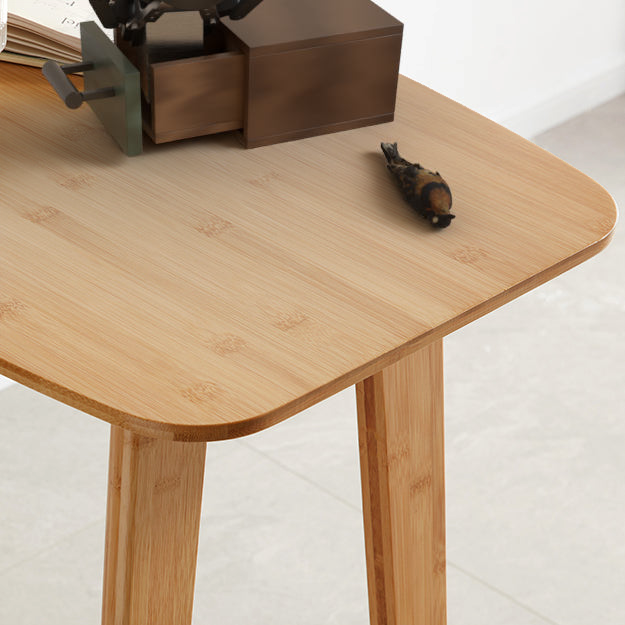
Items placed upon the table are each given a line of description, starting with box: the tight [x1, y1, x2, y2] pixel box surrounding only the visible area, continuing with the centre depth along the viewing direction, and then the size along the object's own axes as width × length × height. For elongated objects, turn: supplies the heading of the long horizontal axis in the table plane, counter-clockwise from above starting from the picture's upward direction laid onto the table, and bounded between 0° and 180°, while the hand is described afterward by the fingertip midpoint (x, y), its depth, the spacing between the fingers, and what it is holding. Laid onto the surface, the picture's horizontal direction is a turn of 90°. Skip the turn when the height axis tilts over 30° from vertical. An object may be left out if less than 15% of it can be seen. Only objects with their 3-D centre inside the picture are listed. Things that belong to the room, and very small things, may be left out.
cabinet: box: [215, 0, 405, 150], centre depth 94 cm, size 14×12×9 cm
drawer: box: [41, 20, 246, 158], centre depth 89 cm, size 16×10×7 cm, turn 117°
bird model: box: [379, 141, 456, 229], centre depth 85 cm, size 3×14×3 cm, turn 14°
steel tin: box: [137, 7, 203, 104], centre depth 88 cm, size 4×4×8 cm
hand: (164, 32), depth 90 cm, fingers closed on steel tin, 4 cm apart
